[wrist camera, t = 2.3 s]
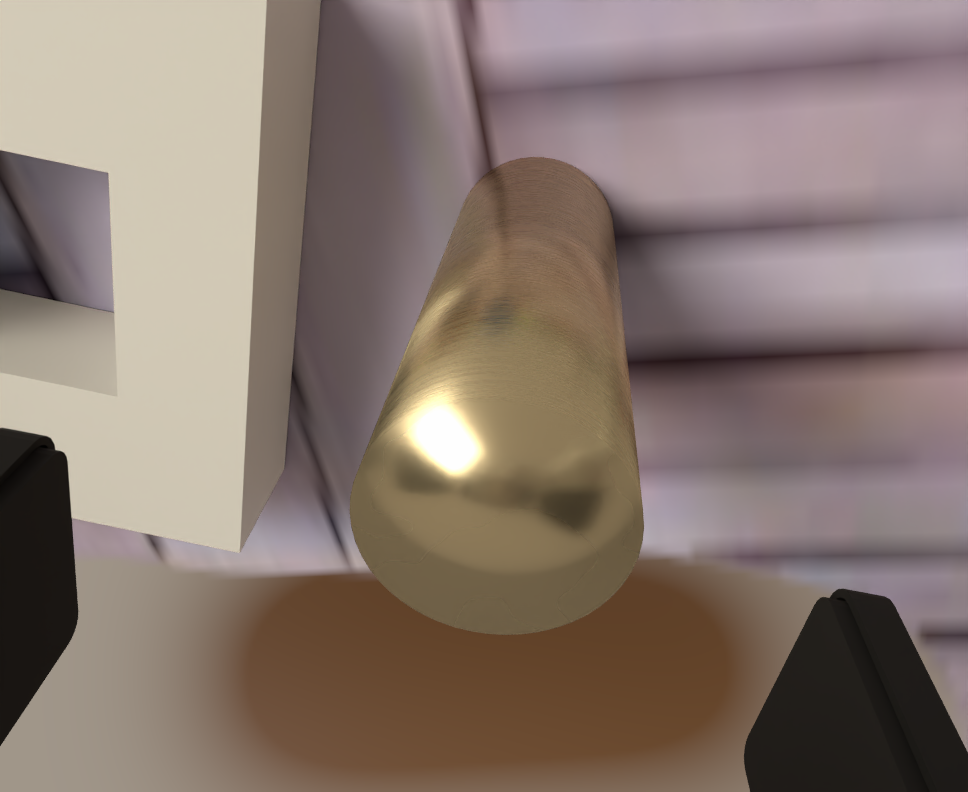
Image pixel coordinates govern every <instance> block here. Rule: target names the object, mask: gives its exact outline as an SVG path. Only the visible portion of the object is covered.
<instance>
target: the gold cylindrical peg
mask: <svg viewBox="0 0 968 792" xmlns="http://www.w3.org/2000/svg"><path fill="white" fill-rule="evenodd" d="M350 519H351V527H352V531H353V534H354V538H355V542H356V544H357V546H358V549H359V551H360V553H361V555H362V557H363V559H364V560H365V562H366V564H367V565H368V567H369V569H370V570H371V571H372V573H373V574H374V575H375V576H376V577H377V579H378V580H379V581H380V582H381V583H382V584H383V585H384V586H385V587H386V588H387V589H388V590H389V591H390V592H391V593H392V594H393V595H395V596H396V597H397V598H398V599H400V600H401V601H402V602H404V603H405V604H406V605H408V606H410V607H411V608H413V609H415V610H416V611H418V612H419V613H421V614H423V615H425V616H428V617H430V618H432V619H434V620H436V621H439V622H441V623H444V624H447V625H450V626H453V627H456V628H460V629H464V630H468V631H474V632H480V633H487V634H501V635H509V634H526V633H534V632H540V631H545V630H548V629H553V628H557V627H560V626H562V625H565V624H568V623H571V622H573V621H575V620H577V619H579V618H581V617H583V616H585V615H587V614H589V613H590V612H592V611H593V610H595V609H597V608H598V607H600V606H601V605H602V604H603V603H605V602H606V601H607V600H608V599H609V598H611V597H612V596H613V595H614V594H615V593H616V592H617V590H618V589H619V588H620V587H621V586H622V585H623V584H624V582H625V581H626V579H627V577H628V576H629V574H630V573H631V571H632V570H633V567H634V565H635V563H636V561H637V559H638V556H639V553H640V549H641V545H642V541H643V531H644V520H643V507H642V497H641V488H640V478H639V469H638V459H637V449H636V440H635V430H634V420H633V411H632V401H631V392H630V382H629V372H628V363H627V353H626V343H625V334H624V324H623V314H622V305H621V295H620V286H619V276H618V266H617V257H616V247H615V237H614V228H613V220H612V215H611V211H610V209H609V206H608V203H607V201H606V199H605V197H604V195H603V194H602V192H601V191H600V189H599V188H598V187H597V185H596V184H595V183H594V182H593V181H592V180H591V179H590V178H589V177H588V176H586V175H585V174H584V173H583V172H581V171H580V170H578V169H577V168H575V167H573V166H571V165H569V164H567V163H564V162H562V161H558V160H555V159H550V158H543V157H528V158H520V159H516V160H513V161H509V162H507V163H504V164H502V165H500V166H498V167H496V168H494V169H493V170H491V171H490V172H488V173H487V174H486V175H485V176H483V177H482V178H481V179H480V180H479V181H478V182H477V183H476V184H475V186H474V187H473V188H472V190H471V191H470V193H469V194H468V196H467V198H466V200H465V202H464V204H463V207H462V209H461V212H460V214H459V217H458V219H457V222H456V225H455V227H454V230H453V232H452V235H451V237H450V240H449V242H448V245H447V247H446V250H445V252H444V255H443V257H442V260H441V262H440V265H439V267H438V270H437V272H436V275H435V278H434V280H433V283H432V285H431V288H430V290H429V293H428V295H427V298H426V300H425V303H424V305H423V308H422V310H421V313H420V315H419V318H418V320H417V323H416V326H415V328H414V331H413V333H412V336H411V338H410V341H409V343H408V346H407V348H406V351H405V353H404V356H403V358H402V361H401V363H400V366H399V368H398V371H397V373H396V376H395V379H394V381H393V384H392V386H391V389H390V391H389V394H388V396H387V399H386V401H385V404H384V406H383V409H382V411H381V414H380V416H379V419H378V421H377V424H376V426H375V429H374V432H373V434H372V437H371V439H370V442H369V444H368V447H367V449H366V452H365V454H364V457H363V459H362V462H361V464H360V467H359V469H358V472H357V474H356V477H355V480H354V482H353V487H352V492H351V496H350Z"/></svg>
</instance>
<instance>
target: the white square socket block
mask: <svg viewBox="0 0 968 792" xmlns="http://www.w3.org/2000/svg"><path fill="white" fill-rule="evenodd" d="M320 7H321V0H0V150H2V151H7V152H12V153H16V154H21V155H26V156H31V157H36V158H40V159H45V160H50V161H55V162H59V163H64V164H69V165H74V166H78V167H83V168H88V169H93V170H97V171H102V172H107V173H108V176H109V200H110V224H111V248H112V272H113V296H114V313H112V312H107V311H103V310H98V309H93V308H88V307H83V306H79V305H74V304H69V303H64V302H60V301H55V300H50V299H45V298H40V297H36V296H31V295H26V294H21V293H17V292H12V291H7V290H2V289H0V428H8V429H13V430H18V431H23V432H28V433H34V434H39V435H44V436H48V437H50V438H51V439H52V441H53V442H54V445H55V450H58V451H62V452H64V453H65V455H66V456H67V461H68V474H69V488H70V502H71V516H72V518H74V519H79V520H83V521H88V522H93V523H98V524H103V525H107V526H112V527H117V528H122V529H127V530H131V531H136V532H141V533H146V534H151V535H156V536H160V537H165V538H170V539H175V540H180V541H184V542H189V543H194V544H199V545H204V546H208V547H213V548H218V549H223V550H228V551H233V552H237V553H240V552H241V550H242V548H243V546H244V544H245V542H246V540H247V539H248V537H249V535H250V533H251V531H252V529H253V527H254V525H255V523H256V522H257V520H258V518H259V516H260V514H261V512H262V510H263V508H264V506H265V505H266V503H267V501H268V499H269V497H270V495H271V493H272V491H273V489H274V488H275V486H276V484H277V482H278V480H279V478H280V476H281V474H282V472H283V471H284V467H285V454H286V442H287V429H288V416H289V403H290V391H291V378H292V365H293V352H294V340H295V327H296V314H297V301H298V288H299V276H300V263H301V250H302V237H303V225H304V212H305V199H306V186H307V173H308V161H309V148H310V135H311V122H312V110H313V97H314V84H315V71H316V59H317V46H318V33H319V20H320Z"/></svg>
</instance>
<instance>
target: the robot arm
mask: <svg viewBox="0 0 968 792" xmlns="http://www.w3.org/2000/svg"><path fill="white" fill-rule="evenodd" d="M76 588H77V587H76V575H75V559H74V545H73V531H72V516H71V502H70V488H69V474H68V461H67V456H66V455H65V453H64V452H62V451H58V450H55V445H54V442H53V441H52V439H51V438H50V437H48V436H44V435H39V434H34V433H28V432H23V431H18V430H13V429H8V428H0V746H1V744H2V743H3V741H4V740H5V738H6V737H7V735H8V734H9V732H10V731H11V729H12V727H13V726H14V725H15V723H16V722H17V720H18V719H19V717H20V716H21V714H22V713H23V711H24V710H25V708H26V707H27V705H28V704H29V702H30V701H31V699H32V698H33V696H34V695H35V693H36V692H37V690H38V689H39V687H40V686H41V684H42V683H43V681H44V680H45V678H46V677H47V675H48V674H49V672H50V671H51V669H52V668H53V666H54V665H55V663H56V662H57V660H58V659H59V657H60V656H61V654H62V653H63V651H64V650H65V648H66V647H67V645H68V644H69V642H70V640H71V638H72V636H73V634H74V631H75V628H76V625H77V620H78V603H77V602H78V601H77V589H76ZM744 764H745V770H746V775H747V779H748V783H749V788H750V792H968V752H967V750H966V748H965V746H964V744H963V742H962V740H961V738H960V736H959V734H958V732H957V730H956V728H955V726H954V724H953V722H952V720H951V718H950V716H949V714H948V712H947V710H946V708H945V706H944V704H943V702H942V700H941V698H940V696H939V694H938V692H937V690H936V688H935V686H934V684H933V682H932V680H931V678H930V676H929V674H928V672H927V670H926V668H925V666H924V664H923V662H922V660H921V658H920V656H919V654H918V652H917V650H916V648H915V646H914V644H913V642H912V640H911V638H910V636H909V634H908V632H907V630H906V628H905V626H904V624H903V622H902V620H901V618H900V616H899V614H898V612H897V610H896V608H895V606H894V604H893V603H892V602H891V600H890V599H888V598H886V597H884V596H878V595H873V594H868V593H863V592H858V591H852V590H847V589H838V590H836V591H835V592H834V593H833V594H832V595H831V597H830V598H826V597H822V598H820V599H819V600H818V601H817V602H816V604H815V605H814V607H813V609H812V611H811V613H810V615H809V617H808V619H807V621H806V623H805V625H804V627H803V629H802V631H801V633H800V635H799V637H798V639H797V641H796V643H795V645H794V647H793V649H792V650H791V652H790V654H789V656H788V659H787V660H786V662H785V664H784V666H783V668H782V670H781V672H780V674H779V676H778V678H777V680H776V682H775V684H774V686H773V688H772V690H771V692H770V694H769V696H768V698H767V700H766V702H765V704H764V706H763V708H762V710H761V712H760V714H759V716H758V718H757V720H756V722H755V724H754V726H753V728H752V729H751V732H750V733H749V735H748V738H747V741H746V745H745V753H744Z"/></svg>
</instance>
